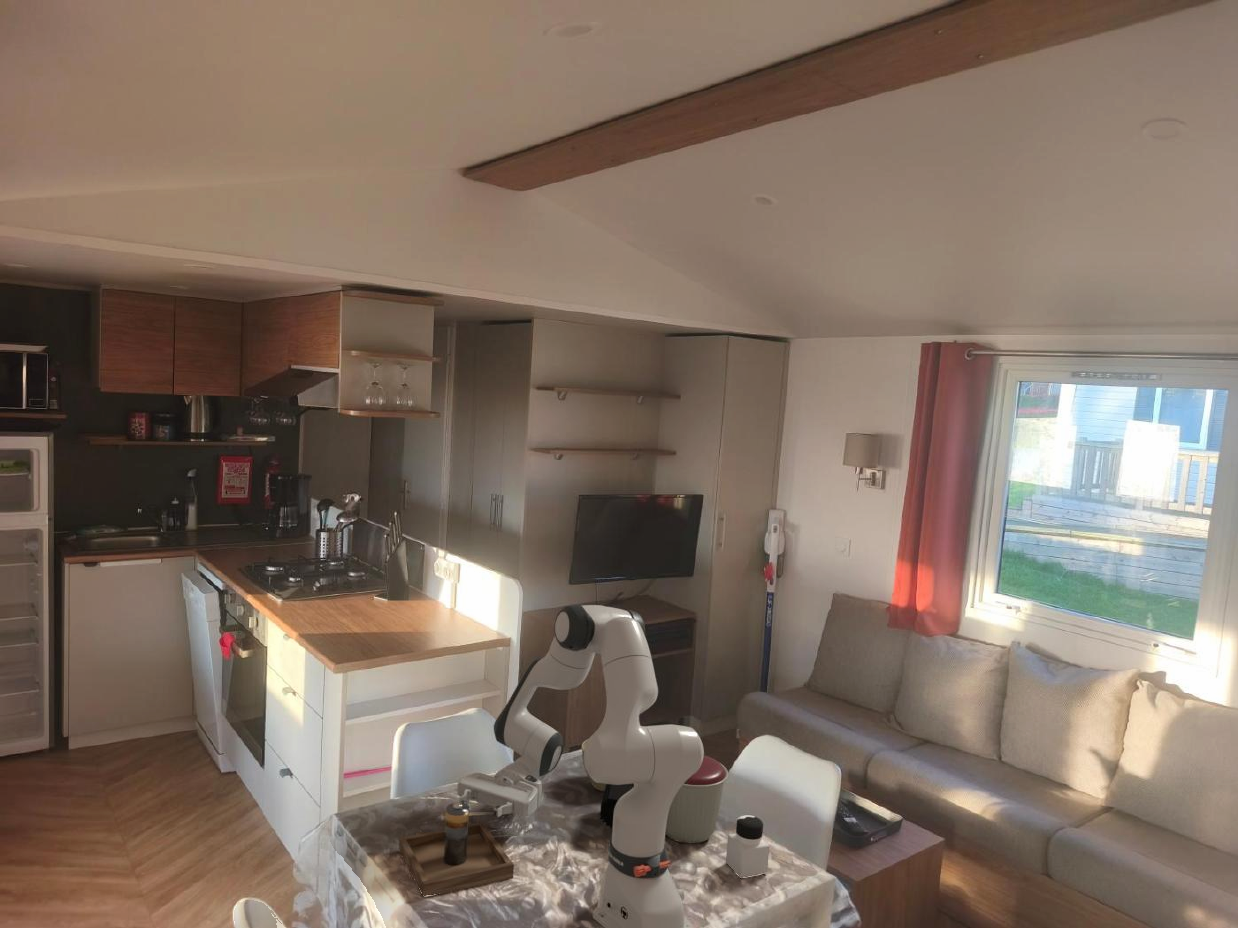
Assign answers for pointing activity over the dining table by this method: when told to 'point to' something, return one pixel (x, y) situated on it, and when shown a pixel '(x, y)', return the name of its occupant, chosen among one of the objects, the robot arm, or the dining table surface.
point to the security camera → (612, 801)
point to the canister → (697, 804)
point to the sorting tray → (479, 868)
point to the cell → (456, 833)
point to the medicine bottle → (747, 847)
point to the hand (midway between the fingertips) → (478, 807)
